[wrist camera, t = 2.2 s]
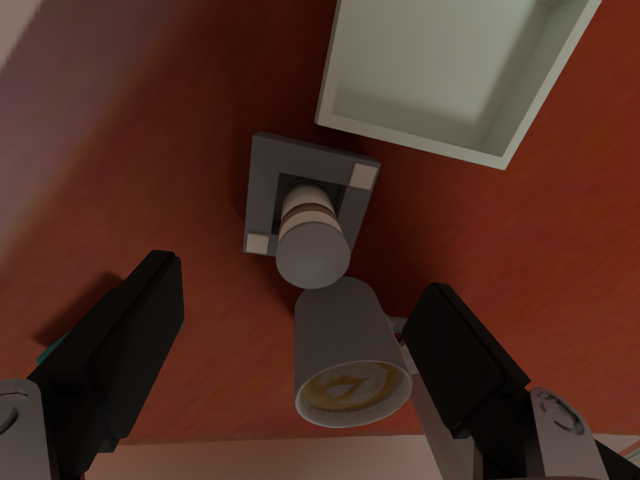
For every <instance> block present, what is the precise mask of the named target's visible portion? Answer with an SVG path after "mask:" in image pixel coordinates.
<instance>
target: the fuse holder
mask: <svg viewBox="0 0 640 480" xmlns="http://www.w3.org/2000/svg"><path fill="white" fill-rule="evenodd" d="M380 167H381V164H380V163H379V162H377V161H376V160H374V159H373V158H371V157H370V156H368V155H364V154H359V153H355V152H351V151H346V150H342V149H337V148H333V147H329V146H324V145H320V144H316V143H311V142H307V141H303V140H298V139H294V138H289V137H285V136H281V135H276V134H272V133H268V132H263V131H258V132H257V133H255V134H254V135H253V138H252V150H251V161H250V173H249V185H248V197H247V208H246V220H245V232H244V243H243V252H245V253H252V254H260V255H267V256H275V257H276V252H277V246H278V236H279V228H280V223H281V217H282V209H283V195H284V192H285V190H286V188H287V186H288V185H289V184H290V183H291V182H293V181H294V180H296V179H299V178H304V177H306V178H311V179H316V180H318V181H319V182H321V183H322V184H323V185H324V187H325V188H326V190H327V192H328V195H329V199H330V202H331V205H332V207H333V210H334V212H335V215H336V217H337V218H338V221H339V223H340V226H341V229H342V232H343V236H344V237H345V239H346V242H347V244H348V247H349V250H350V257H351V254H352V251H353V248H354V245H355V242H356V239H357V236H358V233H359V230H360V227H361V224H362V221H363V218H364V215H365V212H366V209H367V206H368V203H369V200H370V197H371V194H372V191H373V188H374V185H375V182H376V179H377V176H378V173H379V170H380Z"/></svg>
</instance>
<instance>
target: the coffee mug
mask: <svg viewBox="0 0 640 480" xmlns="http://www.w3.org/2000/svg"><path fill="white" fill-rule="evenodd" d="M407 320H408V319H405V318H402V317H395V316H390V315H387V314H385V313H384V312H383V310H382V308H381V306H380V304H379V301H378V299H377V297H376V294H375V292H374V291H373V289H372V288H371V287H370V286H369V285H368V284H366V283H365V282H363V281H361V280H359V279H357V278H353V277H347V276H342V277H341V278H340V279H338V280H337V281H336V282H334V283H332V284H330V285H328V286H326V287H322V288H317V289H305V290H304V291H303V292H302V293H301V294H300V296H299V298H298V299H297V301H296V304H295V311H294V334H295V406H296V409H297V411H298V413H299V414H300V415H301V416H302V417H303V418H305V419H306V420H308V421H310V422H311V423H314V424H317V425H320V426H325V427H333V428H346V427H356V426H361V425H366V424H369V423H372V422H375V421H378V420H381V419H383V418H385V417H387V416H389V415H391V414H392V413H394V412H395V411H397V410H398V409H400V408H401V407H402V406H403V405H404V404H405V402H406V401H407V400H408V399H409V397H410V395H411V392H412V389H413V382H412V378H411V374H417V373H419V371H418V369H417V367H416V365H415V363H414V361H413V359H412V357H411V355H410V353H408V352H407V351H405V350H403V349H402V347H401V346H400V345H399V343H398V342H397V340H396V338H395V335H394V334H395V333H402V329H403V327H404V325H405V323H406V322H407Z"/></svg>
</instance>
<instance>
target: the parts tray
mask: <svg viewBox="0 0 640 480" xmlns="http://www.w3.org/2000/svg"><path fill="white" fill-rule="evenodd" d="M601 1H602V0H337V4H336V10H335V15H334V20H333V25H332V31H331V36H330V41H329V46H328V52H327V57H326V62H325V67H324V73H323V78H322V83H321V88H320V93H319V99H318V104H317V109H316V114H315V120H314V122H315V123H316V124H317V125H321V126H325V127H330V128H334V129H338V130H342V131H346V132H350V133H354V134H358V135H362V136H366V137H371V138H375V139H379V140H383V141H387V142H391V143H395V144H399V145H403V146H407V147H411V148H416V149H420V150H424V151H428V152H432V153H436V154H440V155H444V156H448V157H452V158H457V159H461V160H465V161H469V162H473V163H477V164H481V165H485V166H489V167H493V168H497V169H502V170H505V169H506V167H507V165H508V163H509V162H510V160H511V158H512V156H513V155H514V153H515V151H516V149H517V148H518V146H519V144H520V142H521V141H522V139H523V137H524V135H525V134H526V132H527V130H528V129H529V127H530V125H531V123H532V122H533V120H534V118H535V116H536V115H537V113H538V111H539V109H540V108H541V106H542V104H543V102H544V101H545V99H546V97H547V95H548V94H549V92H550V90H551V88H552V87H553V85H554V83H555V81H556V80H557V78H558V76H559V74H560V73H561V71H562V69H563V67H564V66H565V64H566V62H567V60H568V59H569V57H570V55H571V53H572V52H573V50H574V48H575V46H576V45H577V43H578V41H579V39H580V38H581V36H582V34H583V33H584V31H585V29H586V27H587V26H588V24H589V22H590V20H591V19H592V17H593V15H594V13H595V12H596V10H597V8H598V6H599V5H600V3H601Z"/></svg>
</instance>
